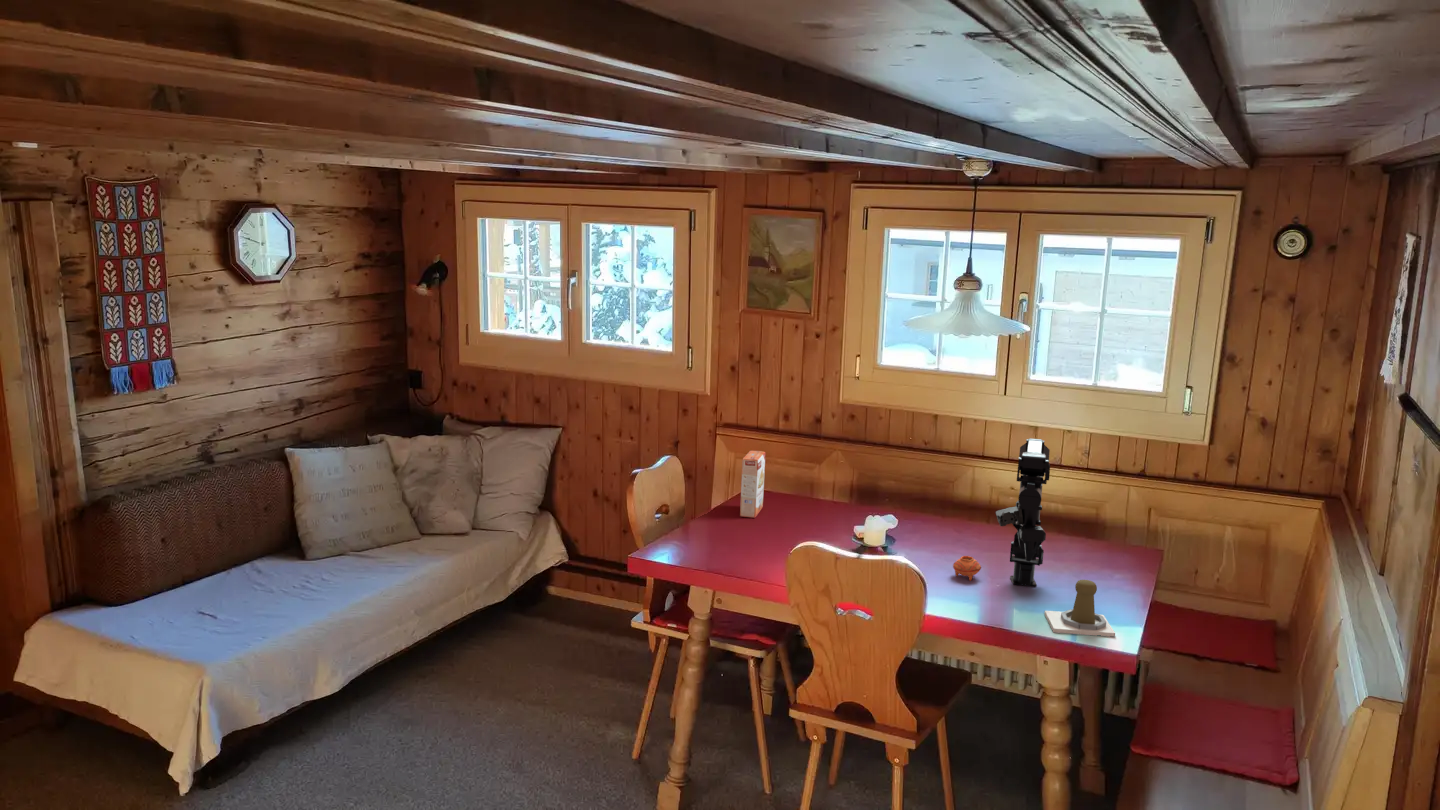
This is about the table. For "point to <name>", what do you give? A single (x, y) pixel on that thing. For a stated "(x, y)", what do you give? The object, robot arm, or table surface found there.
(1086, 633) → the socket tray
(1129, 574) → the table surface
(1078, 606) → the olive brown pawn
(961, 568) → the pot
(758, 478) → the cracker box
